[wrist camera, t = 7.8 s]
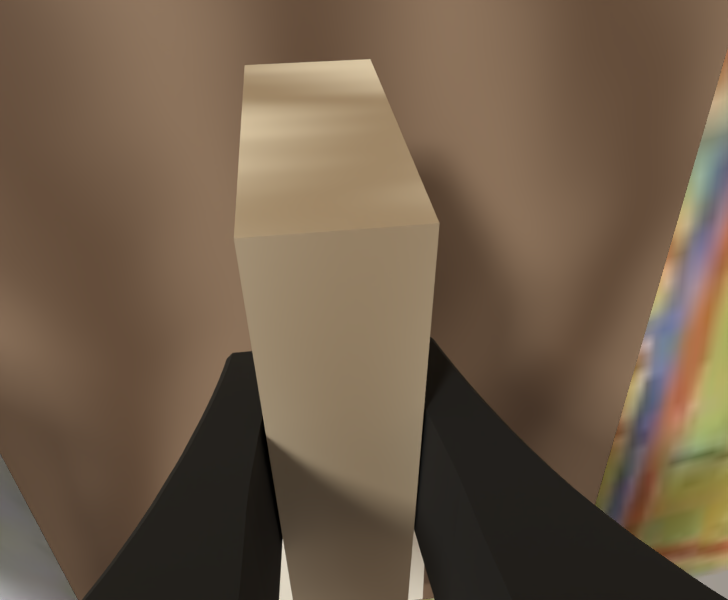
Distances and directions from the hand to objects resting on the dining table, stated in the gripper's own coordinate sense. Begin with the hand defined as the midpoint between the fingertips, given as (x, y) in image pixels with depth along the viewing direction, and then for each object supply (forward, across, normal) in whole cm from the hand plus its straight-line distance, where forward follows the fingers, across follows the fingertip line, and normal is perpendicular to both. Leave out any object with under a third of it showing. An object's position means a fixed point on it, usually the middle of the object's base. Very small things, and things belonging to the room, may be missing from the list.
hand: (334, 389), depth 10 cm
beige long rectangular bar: (+3, 0, +1) cm, 3 cm away
